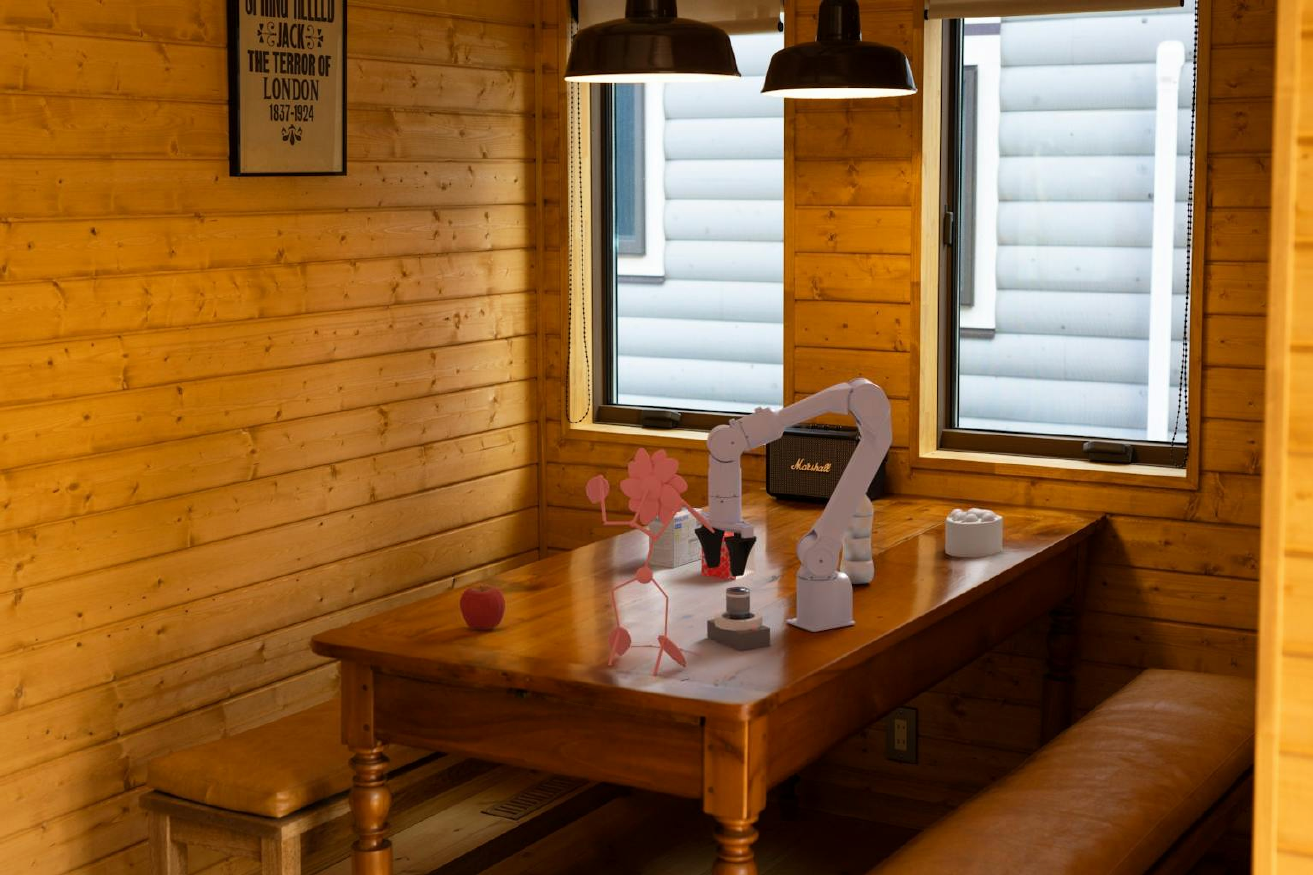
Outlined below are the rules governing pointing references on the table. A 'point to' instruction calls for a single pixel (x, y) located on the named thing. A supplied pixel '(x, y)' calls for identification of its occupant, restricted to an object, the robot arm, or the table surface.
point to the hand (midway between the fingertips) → (725, 571)
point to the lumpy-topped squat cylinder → (973, 533)
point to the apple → (482, 607)
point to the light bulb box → (676, 540)
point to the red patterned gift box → (726, 563)
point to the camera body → (739, 631)
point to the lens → (738, 603)
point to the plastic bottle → (859, 545)
